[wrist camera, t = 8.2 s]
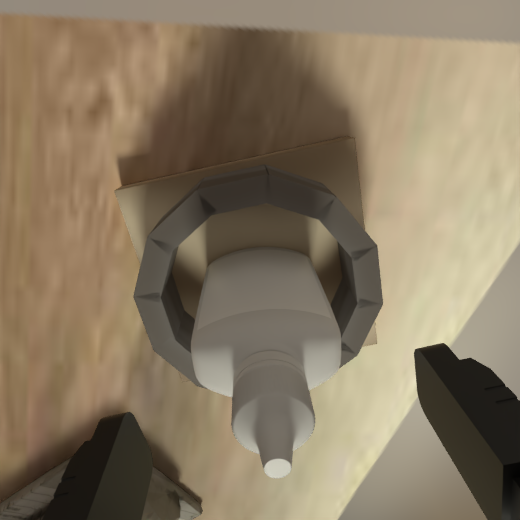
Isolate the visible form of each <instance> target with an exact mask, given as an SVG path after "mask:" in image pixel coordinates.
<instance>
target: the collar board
mask: <svg viewBox="0 0 520 520" xmlns="http://www.w3.org/2000/svg"><path fill="white" fill-rule="evenodd" d="M114 192H115V195H116V198H117V201H118V203H119V206H120V209H121V212H122V215H123V217H124V220H125V223H126V226H127V229H128V231H129V234H130V237H131V240H132V243H133V245H134V248H135V251H136V254H137V257H138V259H139V262H140V265H141V266H140V270H139V274H138V279H137V283H136V287H135V292H134V300H135V302H136V305H137V308H138V310H139V313H140V316H141V318H142V321H143V323H144V326H145V329H146V331H147V334H148V337H149V339H150V342H151V345H152V347H153V350H154V351H155V352H156V353H157V354H159V355H160V356H161V357H162V358H163V359H165V360H166V361H167V362H168V363H170V364H171V365H172V366H173V367H175V368H176V369H177V370H178V371H179V374H180V377H181V380H182V382H187V381H192V382H193V383H194V384H195V385H197V386H199V387H202V388H206V387H204V386H203V385H201V384H200V383H199V381H198V379H197V378H196V375H195V371H194V367H193V361H192V355H191V339H192V334H193V329H194V323H195V318H196V314H197V309H198V305H199V300H200V296H201V291H202V287H203V283H204V278H205V274H206V270H207V267H208V266H209V265H210V264H211V263H212V262H213V261H215V260H216V259H218V258H220V257H222V256H224V255H227V254H229V253H232V252H235V251H238V250H242V249H247V248H253V247H279V248H285V249H290V250H294V251H297V252H300V253H303V254H305V255H306V256H307V257H308V258H310V260H311V262H312V265H313V267H314V269H315V271H316V274H317V276H318V278H319V280H320V283H321V285H322V287H323V290H324V292H325V294H326V297H327V299H328V301H329V304H330V306H331V308H332V311H333V314H334V316H335V319H336V321H337V324H338V326H339V329H340V334H341V364H340V367H342V366H343V365H345V364H346V363H347V362H349V361H350V360H352V359H353V358H354V357H356V356H357V355H358V353H359V351H360V349H361V347H363V346H368V345H373V344H377V337H376V328H375V319H376V317H377V315H378V313H379V311H380V309H381V307H382V305H383V299H382V289H381V279H380V269H379V259H378V249H377V245H376V244H375V242H374V241H373V240H372V239H371V238H370V236H369V235H368V234H367V233H366V232H365V228H364V219H363V210H362V201H361V192H360V183H359V174H358V165H357V156H356V147H355V138H353V137H349V136H346V137H342V138H337V139H333V140H328V141H324V142H319V143H315V144H310V145H306V146H301V147H297V148H292V149H288V150H283V151H279V152H274V153H270V154H265V155H261V156H256V157H252V158H247V159H243V160H238V161H234V162H229V163H225V164H220V165H216V166H211V167H206V168H202V169H197V170H193V171H188V172H184V173H179V174H175V175H170V176H166V177H161V178H157V179H152V180H148V181H143V182H139V183H134V184H130V185H125V186H121V187H120V188H118V189H116V190H115V191H114ZM340 367H339V368H340ZM206 389H208V388H206Z"/></svg>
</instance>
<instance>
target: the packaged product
mask: <svg viewBox="0 0 520 520" xmlns="http://www.w3.org/2000/svg"><path fill="white" fill-rule="evenodd" d="M71 458H72V457H71ZM71 458H70V459H71ZM70 459H68V460H66V461H65V462H63V463H61V464H60V465H58V466H56V467H55V468H53V469H51V470H50V471H48V472H47V473H45V474H44V475H43V476H41V477H39V478H38V479H36V480H35V481H33V482H32V483H30V484H29V485H27V486H26V487H24V488H23V489H21V490H20V491H18V492H16V493H15V494H13V495H12V496H10V497H9V498H7V499H6V500H5V501H3V502H2V503H0V520H42V519H43V517H44V514H45V512H46V510H47V508H48V506H49V504H50V502H51V500H52V499H54V496H53V495H54V493H55V491H56V489H57V487H58V484H59V483H61V478H62V476H63V474H64V472H65V469H66V467H67V465H68V463H69V461H70ZM202 511H203V510H202V507H201V504H199V503H198V502H197V501H196V500H195V499H193V498H192V497H191V496H190V495H189V494H187V493H186V492H185V491H184V490H182V489H181V488H180V487H179V486H177V485H176V484H175V483H174V482H172V481H171V480H170V479H169V478H168V477H166V476H165V475H164V474H163V473H161V472H160V471H159V470H157V469H156V468H154V467H153V470H152V476H151V480H150V485H149V489H148V493H147V498H146V502H145V506H144V511H143V515H142V519H141V520H192V519H194V518H196V517H198V516H199V515H201V514H202Z"/></svg>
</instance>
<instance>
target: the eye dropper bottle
mask: <svg viewBox="0 0 520 520" xmlns="http://www.w3.org/2000/svg"><path fill="white" fill-rule="evenodd" d="M191 355H192V361H193V367H194V371H195V375H196V378H197V379H198V381H199V383H200V384H201V385H203V386H204V387H206V388H208V389H209V390H212V391H214V392H217V393H219V394H222V395H225V396H229V397H232V423H231V425H232V430H233V433H234V436H235V438H236V439H237V440H238V442H239V443H240V444H241V445H243V447H245V448H246V449H248V450H250V451H252V452H254V453H257V454H260V457H261V461H262V465H263V468H264V472H265V473H266V475H268V476H269V477H271V478H282V477H285V476H287V475H288V474H289V473H290V471H291V468H292V455H293V451H294V450H296V449H298V448H299V447H300V446H302V445H303V444H304V443H305V442H306V441H307V440H308V439H309V437H310V436H311V434H312V433H313V432H312V431H313V430H314V427H315V414H314V410H313V406H312V401H311V397H310V393H309V390H310V389H313V388H315V387H317V386H318V385H320V384H322V383H324V382H325V381H327V380H328V379H330V378H331V377H332V376H333V375H334V374H335V373H336V372H337V371H338V369H339V367H340V364H341V334H340V329H339V326H338V324H337V321H336V319H335V316H334V314H333V311H332V308H331V306H330V304H329V301H328V299H327V297H326V294H325V292H324V290H323V287H322V285H321V283H320V280H319V278H318V276H317V274H316V271H315V269H314V267H313V265H312V262H311V260H310V258H308V257H307V256H306V255H305V254H303V253H300V252H297V251H294V250H290V249H285V248H279V247H253V248H247V249H242V250H238V251H235V252H232V253H229V254H227V255H224V256H222V257H220V258H218V259H216V260H215V261H213V262H212V263H211V264H210V265H209V266H208V267H207V270H206V274H205V278H204V283H203V287H202V291H201V296H200V300H199V305H198V309H197V314H196V318H195V323H194V329H193V334H192V339H191Z"/></svg>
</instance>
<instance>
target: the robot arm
mask: <svg viewBox="0 0 520 520" xmlns="http://www.w3.org/2000/svg"><path fill="white" fill-rule="evenodd" d="M414 358H415V370H416V381H417V392H418V397H419V400H420V404H421V407H422V409H423V411H424V413H425V415H426V417H427V419H428V420H429V422H430V424H431V425H432V427H433V429H434V430H435V432H436V434H437V435H438V437H439V439H440V441H441V442H442V444H443V446H444V447H445V449H446V451H447V452H448V454H449V455H450V457H451V459H452V461H453V462H454V464H455V466H456V467H457V469H458V471H459V472H460V474H461V476H462V477H463V479H464V481H465V483H466V484H467V486H468V487H469V489H470V491H471V493H472V494H473V496H474V498H475V499H476V501H477V503H478V504H479V506H480V508H481V509H482V511H483V513H484V514H485V516H486V518H487V519H488V520H520V401H519V400H518V399H517V397H516V395H515V394H514V393H513V392H512V391H511V390H510V389H509V388H508V387H506V386H505V384H504V383H503V382H502V381H501V379H499V377H497V375H496V374H495V373H494V372H493V371H492V370H491V369H490V368H488V367H486V366H484V365H482V364H481V363H479V362H477V361H476V360H474V359H472V358H467V359H462V360H459V359H458V358H457V357H456V355H455V354H454V353H453V352H452V351H451V350H450V348H449V347H448V346H447V345H446V344H444V343H441V344H436V345H432V346H427V347H423V348H418V349H415V352H414ZM152 470H153V460H152V454H151V450H150V448H149V446H148V444H147V441H146V439H145V437H144V435H143V433H142V431H141V429H140V427H139V425H138V423H137V421H136V419H135V417H134V415H133V414H132V413H131V412H127V413H122V414H118V415H113V416H109V417H104V418H102V419H101V420H100V422H99V423H98V426H97V428H96V430H95V433H94V435H93V437H92V440H90V441H86V442H84V443H83V445H82V446H81V447H80V448H79V449H78V451H77V452H76V453H75V454H74V456H73V457H72V458H71V459H70V461H69V463H68V465H67V467H66V469H65V472H64V474H63V476H62V478H61V483H59V484H58V487H57V489H56V491H55V493H54V495H53V496H54V499H52V500H51V502H50V504H49V506H48V508H47V510H46V512H45V514H44V517H43V519H42V520H141V519H142V515H143V511H144V506H145V502H146V498H147V493H148V489H149V485H150V480H151V476H152Z"/></svg>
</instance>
